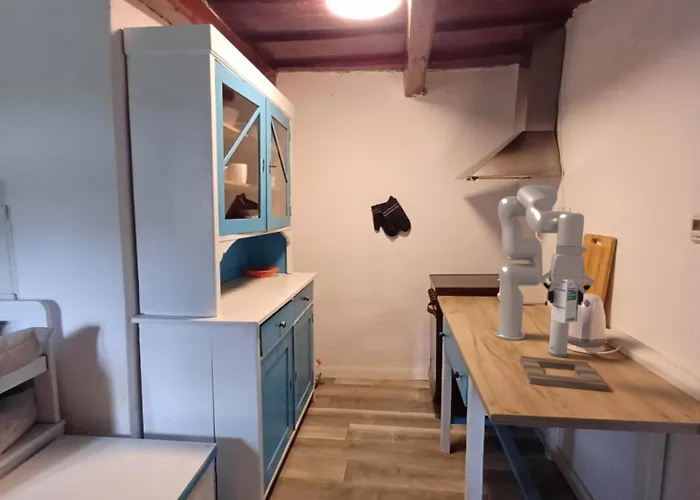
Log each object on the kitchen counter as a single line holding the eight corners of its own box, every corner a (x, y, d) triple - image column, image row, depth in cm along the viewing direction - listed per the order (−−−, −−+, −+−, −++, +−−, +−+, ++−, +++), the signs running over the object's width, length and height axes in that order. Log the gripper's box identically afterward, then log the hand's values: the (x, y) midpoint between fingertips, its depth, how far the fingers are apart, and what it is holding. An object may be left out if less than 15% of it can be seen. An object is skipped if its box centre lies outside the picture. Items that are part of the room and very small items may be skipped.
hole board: (520, 361, 159) (520, 355, 159) (586, 367, 155) (586, 361, 154) (530, 383, 140) (530, 377, 140) (605, 391, 135) (606, 384, 135)
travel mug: (549, 356, 165) (553, 304, 162) (548, 350, 171) (551, 300, 169) (567, 358, 163) (571, 306, 160) (565, 353, 169) (569, 302, 166)
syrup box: (564, 324, 141) (568, 279, 140) (549, 319, 147) (553, 276, 145) (577, 322, 144) (580, 278, 142) (562, 317, 149) (565, 275, 147)
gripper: (594, 250, 144) (590, 302, 146) (537, 248, 148) (534, 299, 150) (601, 253, 137) (597, 308, 139) (542, 251, 141) (538, 304, 143)
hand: (564, 303), depth 145 cm, fingers closed on syrup box, 8 cm apart
